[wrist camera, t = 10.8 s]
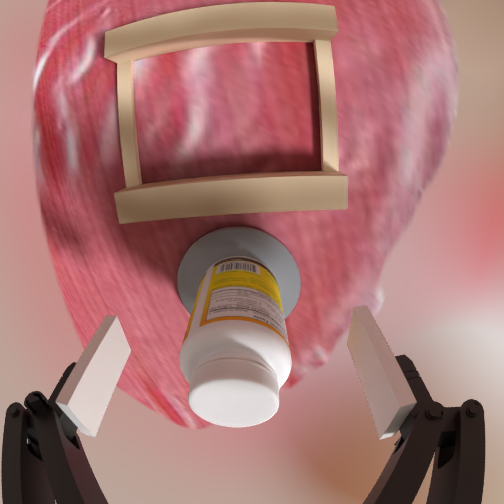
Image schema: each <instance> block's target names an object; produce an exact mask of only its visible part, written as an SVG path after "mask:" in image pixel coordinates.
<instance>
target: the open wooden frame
mask: <svg viewBox="0 0 504 504" xmlns="http://www.w3.org/2000/svg"><path fill="white" fill-rule="evenodd" d="M338 32H339V31H338V25H337V18H336V13H335V7H334V6H330V5H321V4H310V3H294V2H250V3H234V4H223V5H214V6H207V7H200V8H194V9H188V10H182V11H177V12H173V13H168V14H164V15H159V16H155V17H151V18H148V19H144V20H141V21H137V22H134V23H131V24H127V25H124V26H121V27H118V28H115V29H113V30H110V31H107V32H105V48H104V58H107V59H109V60H111V61H113V62H115V63H117V92H118V114H119V128H120V140H121V150H122V159H123V167H124V175H125V182H126V188H124V189H122V190H120V191H118V192H116V193H114V198H115V204H116V209H117V215H118V220H119V224H124V223H134V222H144V221H154V220H164V219H176V218H187V217H200V216H213V215H227V214H243V213H260V212H280V211H303V210H334V209H347V204H348V176H347V175H345V174H342V173H340V172H338V128H337V108H336V93H335V80H334V69H333V60H332V51H331V43H330V41H331V40H332V39H333V38H334V36H335V35H336V34H337V33H338ZM247 42H310V43H313V45H314V54H315V63H316V74H317V86H318V100H319V117H320V139H321V171H283V172H261V173H244V174H229V175H217V176H206V177H196V178H186V179H177V180H169V181H161V182H153V183H146V184H142V177H141V169H140V161H139V151H138V141H137V130H136V116H135V99H134V61H136V60H140V59H144V58H148V57H152V56H156V55H161V54H165V53H170V52H175V51H180V50H186V49H192V48H199V47H206V46H213V45H222V44H233V43H247Z"/></svg>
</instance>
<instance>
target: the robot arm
mask: <svg viewBox="0 0 504 504" xmlns="http://www.w3.org/2000/svg"><path fill="white" fill-rule="evenodd" d="M347 346H348V349H349V351H350V354H351V356H352V359H353V362H354V365H355V368H356V370H357V373H358V376H359V379H360V381H361V384H362V387H363V390H364V393H365V395H366V398H367V402H368V404H369V407H370V410H371V413H372V416H373V419H374V422H375V426H376V429H377V432H378V435H379V438H380V439H383V438H386V437H390V436H393V435H395V434H396V433H397V431H398V430H400V433H401V437H400V438H399V439H398V441H397V442H396V443H395V445H396V447H395V449H394V451H393V453H392V455H391V457H390V459H389V460H388V462H387V464H386V466H385V468H384V470H383V472H382V473H381V475H380V477H379V479H378V480H377V482H376V484H375V485H374V487H373V489H372V490H371V492H370V493H369V495H368V497H367V498H366V500H365V501H364V503H363V504H412V502H413V500H414V498H415V496H416V495H417V492H418V490H419V488H420V486H421V484H422V482H423V479H424V477H425V475H426V473H427V470H428V468H429V465H430V463H431V460H432V458H433V455H434V452H435V457H434V464H433V471H432V477H431V483H430V488H429V493H428V498H427V503H426V504H481V502H482V493H483V485H484V472H485V421H484V410H483V407H482V405H481V404H480V403H479V402H478V401H476V400H473V399H470V400H467V401H465V402H464V403H463V404H462V406H461V407H448V408H447V407H443V406H442V405H441V404H440V403H438V402H434V401H433V400H432V398H431V396H430V394H429V392H428V390H427V389H426V386H425V384H424V382H423V381H422V379H421V377H420V375H419V373H418V371H416V368H415V366H414V364H413V362H412V361H411V360H410V359H409V358H408V357H407V356H405V355H400V356H394V354H393V353H392V351H391V349H390V347H389V345H388V343H387V341H386V339H385V337H384V336H383V334H382V332H381V330H380V328H379V326H378V325H377V323H376V321H375V319H374V317H373V316H372V314H371V312H370V310H369V309H368V307H367V306H359V307H354V309H353V315H352V321H351V326H350V331H349V336H348V341H347ZM130 352H131V349H130V347H129V344H128V342H127V340H126V337H125V335H124V332H123V330H122V327H121V325H120V322H119V320H118V317H117V316H106V317H105V318H104V320H103V321H102V323H101V325H100V326H99V328H98V329H97V331H96V332H95V334H94V335H93V337H92V339H91V340H90V342H89V343H88V345H87V347H86V348H85V350H84V352H83V353H82V355H81V357H80V358H79V360H78V362H77V363H75V362H73V363H72V364H71V365H70V366H68V367H67V369H66V370H65V372H64V373H63V377H61V379H60V380H59V382H58V384H57V386H56V387H55V389H54V391H53V393H52V395H51V396H50V398H49V400H47V399H46V397H45V396H44V395H43V394H42V393H41V392H39V391H34V392H32V393H30V394H29V395H28V396H27V397H26V398H25V401H24V405H25V407H26V408H27V409H25V408H24V407H23V406H22V405H21V404H20V403H17V402H15V403H13V404H11V405H10V406H9V407H8V409H7V411H6V417H5V425H4V434H3V446H2V499H3V504H55V500H56V503H57V504H108V502H107V500H106V498H105V497H104V494H103V493H102V491H101V489H100V487H99V484H98V482H97V480H96V478H95V476H94V474H93V471H92V469H91V467H90V464H89V462H88V460H87V457H86V455H85V452H84V450H83V447H82V444H81V441H80V439H79V436H78V434H77V433H76V431H77V428H78V429H79V430H80V431H81V432H82V433H83V434H86V435H89V436H92V437H95V436H96V434H97V431H98V429H99V426H100V423H101V421H102V418H103V416H104V413H105V410H106V407H107V406H108V403H109V401H110V398H111V396H112V393H113V391H114V389H115V386H116V384H117V382H118V379H119V377H120V375H121V372H122V370H123V368H124V366H125V363H126V361H127V359H128V357H129V355H130ZM27 439H28V444H27Z"/></svg>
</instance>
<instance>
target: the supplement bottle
mask: <svg viewBox="0 0 504 504" xmlns="http://www.w3.org/2000/svg"><path fill="white" fill-rule="evenodd" d="M180 367H181V370H182V373H183V375H184V377H185V378H186V380H187V381H188V382H189V383H190V389H189V394H188V402H189V405H190V408H191V409H192V410H193V411H194V413H195V414H197V415H198V416H199V417H201V418H202V419H204V420H206V421H208V422H210V423H213V424H217V425H221V426H227V427H248V426H253V425H257V424H260V423H262V422H264V421H266V420H268V419H270V418H271V417H272V416H273V415H274V414H275V413H276V412H277V410H278V407H279V388H280V387H281V386H282V385H283V384H284V383H285V381H286V380H287V378H288V376H289V373H290V370H291V354H290V348H289V343H288V337H287V332H286V326H285V320H284V315H283V309H282V303H281V298H280V293H279V287H278V283H277V280H276V278H275V276H274V274H273V273H272V271H271V270H270V269H269V268H268V267H267V266H266V265H264V264H263V263H262V262H260V261H258V260H256V259H253V258H250V257H246V256H231V257H227V258H224V259H221V260H219V261H217V262H216V263H214V264H213V265H212V266H210V267H209V269H208V270H207V271H206V272H205V274H204V276H203V278H202V280H201V283H200V286H199V290H198V293H197V296H196V300H195V303H194V306H193V309H192V313H191V316H190V320H189V323H188V326H187V330H186V333H185V337H184V340H183V344H182V347H181V352H180Z"/></svg>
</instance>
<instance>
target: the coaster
mask: <svg viewBox="0 0 504 504" xmlns="http://www.w3.org/2000/svg"><path fill="white" fill-rule="evenodd" d="M231 256H246V257H250V258H253V259H256V260H258V261H260V262H262V263H263V264H264V265H266V266H267V267H268V268H269V269H270V270H271V271H272V273H273V274H274V276H275V278H276V280H277V283H278V287H279V293H280V298H281V303H282V309H283V315H284V319H285V318H286V317H287V316H288V315H289V314H290V313H291V311H292V310H293V308H294V307H295V305H296V303H297V300H298V297H299V293H300V286H301V283H300V274H299V270H298V267H297V264H296V262H295V259H294V257H293V256H292V254H291V252H290V251H289V250H288V248H287V247H286V246H285V245H284V244H283V243H282V242H281V241H279V240H278V239H277V238H275V237H274V236H272V235H270V234H269V233H267V232H264V231H262V230H259V229H256V228H252V227H246V226H230V227H223V228H219V229H216V230H213V231H211V232H209V233H207V234H205V235H203V236H202V237H200V238H199V239H198V240H196V241H195V242H194V243H193V244H192V245H191V246H190V248H189V249H188V250H187V252H186V253H185V255H184V257H183V259H182V261H181V263H180V266H179V269H178V275H177V287H178V292H179V296H180V299H181V301H182V303H183V305H184V306H185V308H186V310H187V311H188V312H189V313H190V315H191V313H192V309H193V306H194V303H195V300H196V296H197V293H198V290H199V286H200V283H201V280H202V278H203V276H204V274H205V272H206V271H207V270H208V269H209V267H210V266H212V265H213V264H214V263H216V262H217V261H219V260H221V259H224V258H227V257H231Z"/></svg>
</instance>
